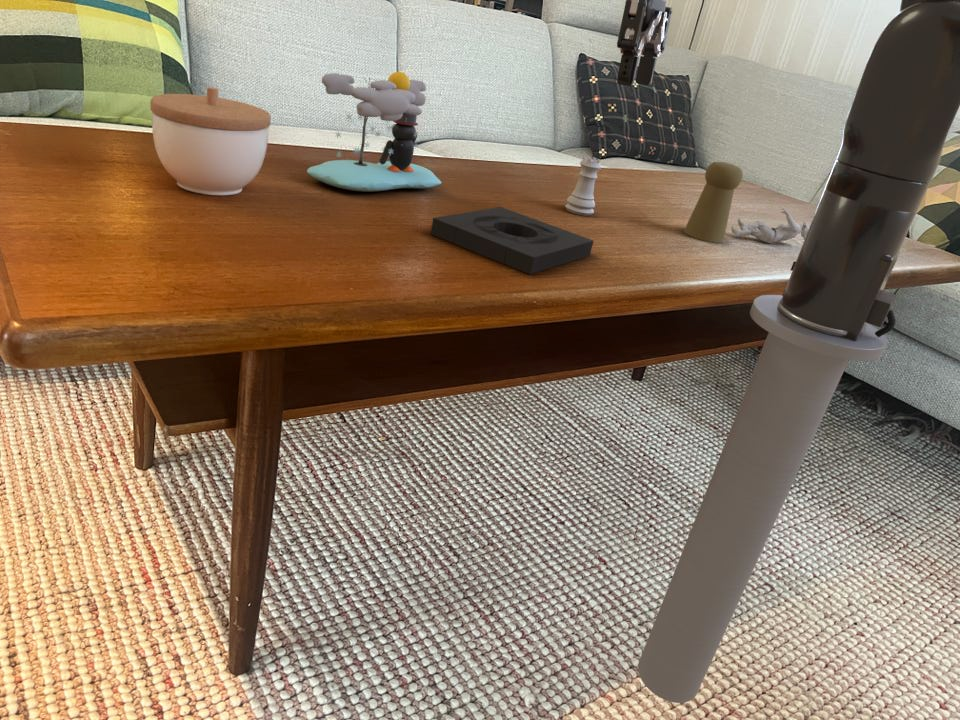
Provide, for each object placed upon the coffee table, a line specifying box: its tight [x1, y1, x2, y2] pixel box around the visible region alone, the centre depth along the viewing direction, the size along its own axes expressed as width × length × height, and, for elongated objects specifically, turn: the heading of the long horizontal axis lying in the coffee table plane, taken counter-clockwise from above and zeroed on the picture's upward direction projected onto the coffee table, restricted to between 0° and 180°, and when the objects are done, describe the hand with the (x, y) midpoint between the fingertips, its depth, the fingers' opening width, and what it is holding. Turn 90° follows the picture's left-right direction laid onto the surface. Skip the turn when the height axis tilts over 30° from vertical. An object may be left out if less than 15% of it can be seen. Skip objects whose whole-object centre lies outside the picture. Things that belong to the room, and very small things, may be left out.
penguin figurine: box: [306, 71, 442, 193], centre depth 97 cm, size 20×11×15 cm, turn 133°
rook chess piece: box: [564, 155, 602, 217], centre depth 108 cm, size 4×4×8 cm
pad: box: [430, 206, 594, 275], centre depth 86 cm, size 14×14×2 cm
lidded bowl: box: [149, 86, 272, 196], centre depth 83 cm, size 13×13×11 cm
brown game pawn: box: [683, 161, 744, 244], centre depth 108 cm, size 6×6×11 cm
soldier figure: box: [730, 207, 810, 244], centre depth 114 cm, size 8×5×12 cm
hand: (634, 84), depth 102 cm, fingers open, 8 cm apart
